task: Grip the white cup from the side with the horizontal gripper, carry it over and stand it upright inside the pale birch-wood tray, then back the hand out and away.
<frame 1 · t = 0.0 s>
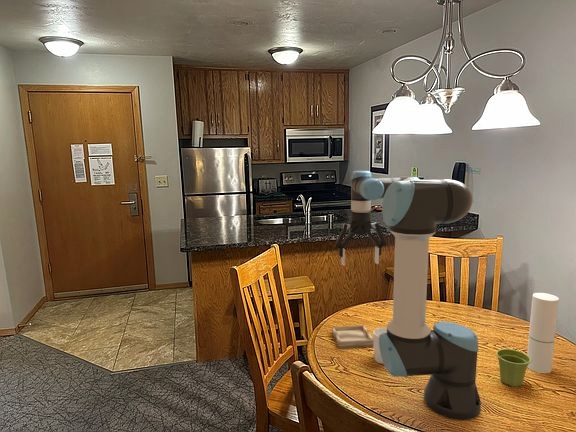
hand: (359, 264, 157), 28 cm above the table, tool pointing down, fingers open, 13 cm apart
white cup: (383, 360, 139), on the table
plant pot: (511, 382, 125), on the table
birch tray: (352, 339, 154), on the table
cylindrical container: (538, 368, 132), on the table
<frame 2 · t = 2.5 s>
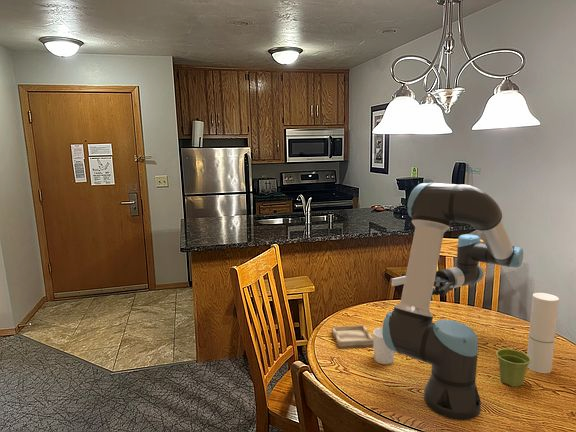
hand: (405, 287, 141), 24 cm above the table, tool horizontal, fingers open, 13 cm apart
nothing on the table moved.
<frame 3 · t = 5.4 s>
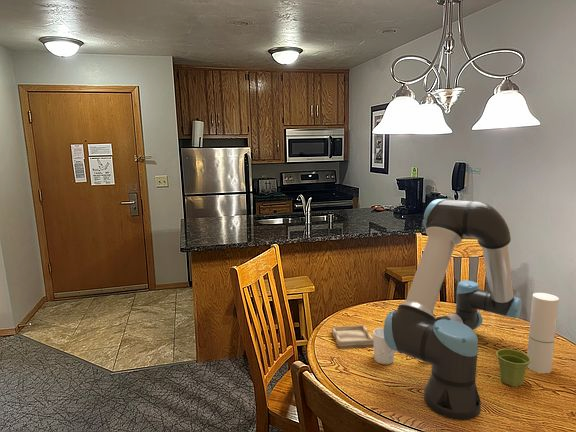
hand: (404, 337, 142), 6 cm above the table, tool horizontal, fingers open, 13 cm apart
nothing on the table moved.
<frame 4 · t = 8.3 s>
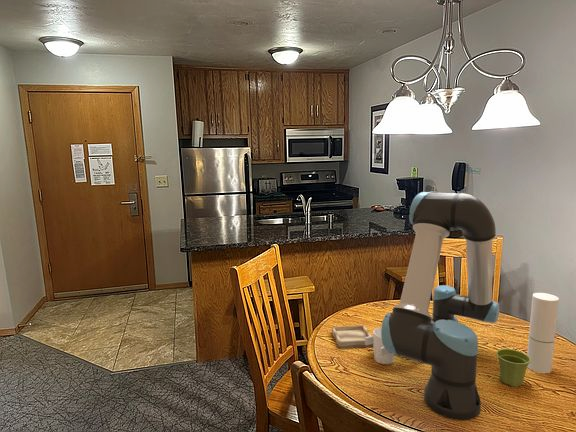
hand: (373, 346, 136), 6 cm above the table, tool horizontal, fingers closed on white cup, 8 cm apart
white cup: (383, 359, 139), on the table, touching gripper
everything else where it was.
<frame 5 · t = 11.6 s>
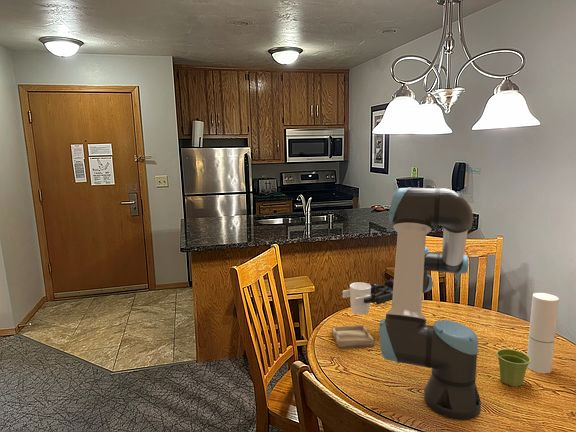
hand: (349, 298, 147), 18 cm above the table, tool horizontal, fingers closed on white cup, 8 cm apart
white cup: (360, 311, 151), point 12 cm above the table, touching gripper
everything else where it was.
when the fingers open (8 cm above the table, at t = 14.9 s): white cup drops 1 cm, resting on birch tray.
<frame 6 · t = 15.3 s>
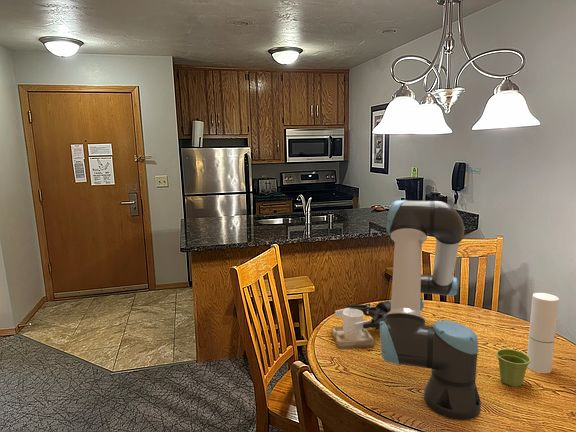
hand: (345, 320, 151), 8 cm above the table, tool horizontal, fingers open, 12 cm apart
white cup: (352, 337, 154), point 1 cm above the table, touching birch tray
everything else where it was.
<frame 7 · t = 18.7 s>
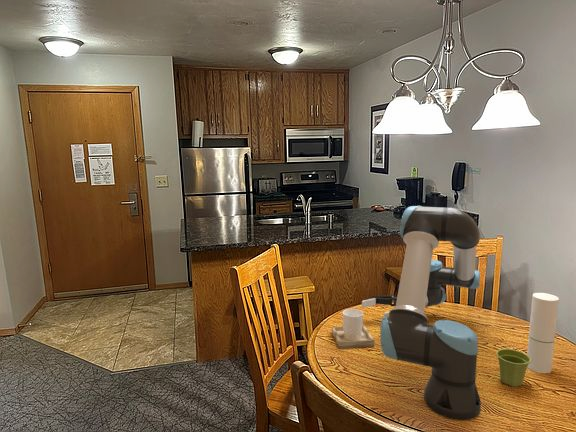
hand: (372, 310, 157), 10 cm above the table, tool horizontal, fingers open, 13 cm apart
nothing on the table moved.
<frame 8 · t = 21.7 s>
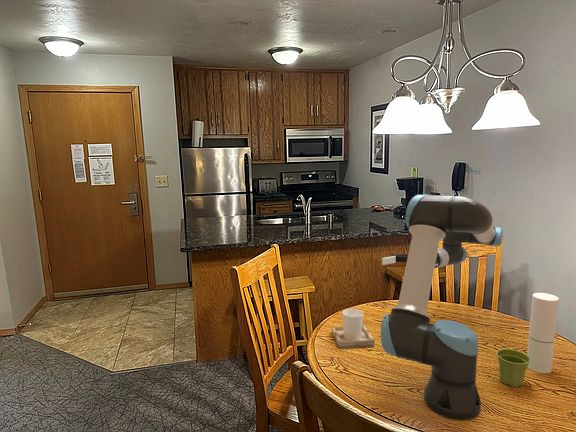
hand: (393, 265, 154), 28 cm above the table, tool horizontal, fingers open, 13 cm apart
nothing on the table moved.
at the end: white cup 0.1 cm off-centre on the birch tray, point 0.8 cm above the birch tray's base; white cup tilted 0°; the gripper is holding nothing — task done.
